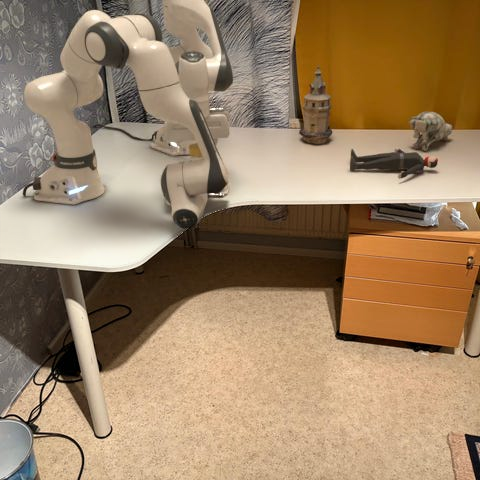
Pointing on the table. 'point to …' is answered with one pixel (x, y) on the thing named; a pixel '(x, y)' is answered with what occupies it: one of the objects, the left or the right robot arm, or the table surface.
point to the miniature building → (316, 112)
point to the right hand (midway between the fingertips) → (197, 152)
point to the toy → (393, 162)
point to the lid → (194, 150)
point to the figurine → (429, 128)
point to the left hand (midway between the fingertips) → (199, 177)
